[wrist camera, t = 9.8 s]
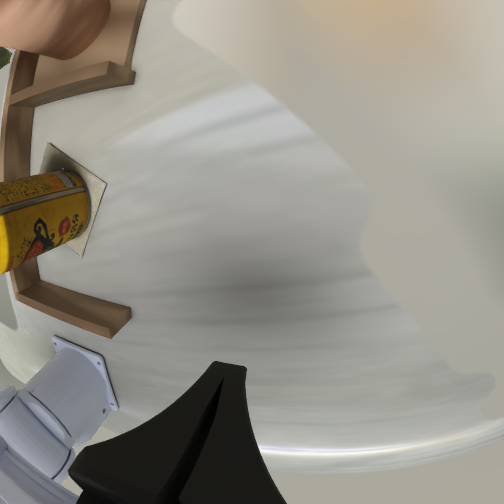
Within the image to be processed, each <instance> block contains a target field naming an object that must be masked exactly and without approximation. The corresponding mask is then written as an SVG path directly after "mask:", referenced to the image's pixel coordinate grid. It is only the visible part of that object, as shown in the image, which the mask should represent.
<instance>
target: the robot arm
mask: <svg viewBox="0 0 504 504" xmlns="http://www.w3.org/2000/svg"><path fill="white" fill-rule="evenodd" d="M52 341H53V344H54V347H55V350H56V353H57V354H56V355H55V356H54V357H53V358H52V359H51V360H50V361H49V362H48V363H47V364H46V365H45V366H44V367H43V368H42V369H41V370H40V371H39V372H38V373H37V374H36V375H35V376H34V377H33V378H32V379H31V380H30V381H29V382H28V383H27V384H26V385H25V386H24V387H23V388H22V389H20V390H18V391H17V389H16V388H15V387H14V386H6V387H5V388H4V389H2V390H1V391H0V504H287V503H286V501H285V500H284V498H283V497H282V495H281V494H280V492H279V490H278V489H277V487H276V485H275V483H274V481H273V480H272V478H271V476H270V474H269V472H268V470H267V467H266V465H265V463H264V461H263V458H262V456H261V454H260V451H259V448H258V446H257V443H256V440H255V436H254V433H253V430H252V426H251V422H250V417H249V412H248V406H247V399H246V388H245V380H246V373H247V368H246V367H245V366H239V365H234V364H229V363H223V362H218V361H214V362H212V364H211V365H210V366H209V368H208V369H207V370H206V371H205V373H204V374H203V375H202V376H201V377H200V378H199V379H198V380H197V381H196V382H195V383H194V384H193V385H192V386H191V387H190V388H189V389H188V390H187V391H186V392H185V393H184V394H183V395H182V396H181V397H180V398H178V399H177V400H176V401H175V402H174V403H172V404H171V405H170V406H169V407H167V408H166V409H165V410H163V411H162V412H161V413H159V414H158V415H156V416H155V417H153V418H152V419H150V420H148V421H147V422H145V423H143V424H142V425H140V426H138V427H136V428H134V429H132V430H130V431H128V432H126V433H123V434H121V435H119V436H117V437H114V438H112V439H109V440H106V441H103V442H100V443H97V444H93V445H90V446H86V447H85V448H84V449H83V450H82V451H81V452H80V453H79V454H78V456H77V457H76V458H75V451H74V449H73V448H72V446H80V445H83V444H85V443H87V442H88V441H90V440H91V438H92V437H93V435H94V434H95V433H96V431H97V430H98V428H99V427H100V425H101V424H102V422H103V421H104V419H105V418H106V416H107V415H108V413H109V412H110V410H113V411H118V410H119V408H118V405H117V403H116V400H115V397H114V394H113V391H112V388H111V384H110V381H109V378H108V375H107V371H106V368H105V364H104V360H103V358H102V356H100V355H98V354H96V353H93V352H91V351H88V350H86V349H84V348H81V347H79V346H76V345H74V344H72V343H70V342H67V341H65V340H63V339H61V338H58V337H56V336H53V337H52ZM68 476H70V477H71V478H72V479H73V480H74V481H75V482H76V483H77V484H78V485H79V486H80V487H81V488H82V489H83V492H82V493H81V495H80V497H79V496H77V495H76V494H74V493H72V492H71V491H69V490H67V489H66V488H64V487H63V486H61V485H60V483H62V482H63V481H64V480H65V479H66V478H67V477H68Z"/></svg>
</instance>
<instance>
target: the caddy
mask: <svg viewBox="0 0 504 504" xmlns="http://www.w3.org/2000/svg"><path fill="white" fill-rule="evenodd" d="M145 3H146V0H0V46H1V47H6V48H12V49H16V52H15V56H14V60H13V63H12V67H11V72H10V76H9V81H8V86H7V91H6V97H5V103H4V110H3V117H2V126H1V138H0V182H4V181H8V180H13V179H18V178H22V177H28V176H30V148H31V133H32V123H33V114H34V107H36V106H39V105H42V104H46V103H49V102H52V101H56V100H59V99H63V98H67V97H71V96H75V95H79V94H83V93H87V92H92V91H97V90H102V89H107V88H113V87H118V86H125V85H131V84H134V79H135V73H136V72H134V71H132V70H130V65H131V60H132V55H133V50H134V45H135V41H136V37H137V32H138V28H139V24H140V21H141V17H142V13H143V10H144V6H145ZM9 272H10V277H11V281H12V286H13V290H14V294H15V298H16V300H18V301H20V302H22V303H24V304H26V305H28V306H30V307H32V308H34V309H37V310H39V311H41V312H43V313H45V314H48V315H50V316H52V317H55V318H57V319H59V320H62V321H64V322H67V323H69V324H72V325H74V326H77V327H79V328H82V329H85V330H87V331H90V332H93V333H95V334H98V335H101V336H104V337H107V338H110V339H112V338H113V336H114V335H115V334H116V333H117V332H118V331H119V330H120V329H121V328H122V327H123V326H124V325H125V324H126V323H127V322H128V321H129V320H130V319H131V318H132V317H131V308H130V307H126V306H122V305H118V304H115V303H111V302H107V301H104V300H100V299H97V298H94V297H90V296H87V295H84V294H80V293H77V292H74V291H71V290H68V289H65V288H62V287H58V286H55V285H53V284H50V283H47V282H44V281H41V280H40V277H39V272H38V266H37V260H36V257H34V258H32V259H30V260H28V261H26V262H24V263H22V264H20V265H18V266H17V267H15V268H13V269H12V270H11V271H9Z"/></svg>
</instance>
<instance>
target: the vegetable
mask: <svg viewBox="0 0 504 504" xmlns="http://www.w3.org/2000/svg"><path fill="white" fill-rule="evenodd" d="M11 55H12V53H11V52H9V51H8V50H7V49H5V48H4V47H1V46H0V69H1V68H3V66H5V65H7V64H8V63H10V61H9V60H10V57H11Z"/></svg>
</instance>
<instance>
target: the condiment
mask: <svg viewBox="0 0 504 504" xmlns="http://www.w3.org/2000/svg"><path fill="white" fill-rule="evenodd" d="M62 168H64V170H63V169H62ZM105 186H106V184H105V183H104V182H102V181H101V180H100V179H98V178H97V177H96V176H94V175H93V174H92V173H90V172H88V171H87V170H86V169H85V168H83V167H82V166H80V165H79V164H78V163H76V162H74V161H73V160H72V159H70V158H68V157H67V156H66V155H65V154H63V153H62V152H61V151H59V150H58V149H56V148H54V147H53V146H52V145H50V144H49V143H48V142H47V146H46V149H45V154H44V158H43V162H42V165H41V169H40V173H39V175H33V176H28V177H22V178H18V179H13V180H8V181H4V182H0V274H3V273H5V272H8V271H11V270H12V269H13V268H15V267H17V266H18V265H20V264H22V263H24V262H26V261H28V260H30V259H32V258H34V257H37V256H38V255H40V254H43V253H45V252H47V251H49V250H52V249H53V248H55V247H58V246H60V245H61V244H64V243H66V244H67V245H68V246H70V247H71V249H73V250H74V251H75V252H76V253H77V254H79V255H80V257H81V258H82V255H83V252H84V248H85V246H86V242H87V240H88V236H89V233H90V230H91V227H92V224H93V221H94V218H95V215H96V212H97V209H98V205H99V201H100V199H101V197H102V194H103V191H104V189H105Z"/></svg>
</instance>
